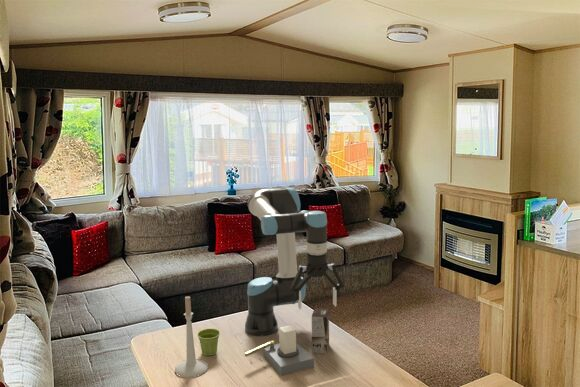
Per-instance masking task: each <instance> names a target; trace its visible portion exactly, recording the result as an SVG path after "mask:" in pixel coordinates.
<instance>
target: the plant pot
mask: <svg viewBox="0 0 580 387" xmlns="http://www.w3.org/2000/svg"><path fill="white" fill-rule="evenodd" d="M220 334H221V331H220V330H219V329H216V328H205V329H201V330H200V331H198V332H197V335H196V336H197V337H198V340H199V343H200V350H201V354H202V356H204V357H210V356H214V355H217V353H218V343H219V337H220Z"/></svg>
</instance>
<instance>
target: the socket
mask: <svg viewBox="0 0 580 387" xmlns="http://www.w3.org/2000/svg"><path fill="white" fill-rule="evenodd" d="M296 347H297V348H298V354H297V355H296V356H294V357H290V358H285V357H281V356H279V355H278V354H277V349H278V348H279V343H275V345H273V346H269V347H266V348H264V349H262V351H263V352H262V354H263V356H264V358H265V359H266V360H267V361H268V362H269V363H270V364H271V366H272V367H273V368H274V369H275V370H276V372H278V374H279V375H280V376H284V375H288V374H293V373H296V372H299V371H304V370H307V369H312V368H315V357H314V356H312V355H311V354H310V353H309V352H308V351H307V350H306V349H305V348H304V347H302V346H301V345H300V344H299V343H298V342H297V341H296Z"/></svg>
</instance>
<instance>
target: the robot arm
mask: <svg viewBox="0 0 580 387" xmlns="http://www.w3.org/2000/svg"><path fill="white" fill-rule="evenodd" d="M247 207H248V208H247V209H248V212H250V214H252V215H253V216H255V217H257V218H258V219H259V220H260V228H261V232H262V234H263V235H265V236H269V235H271V236H274V235H276V248H277V250H276V251H277V263H278V265H277V266H278V272H277V274H276V275H275V279H274V280H273V278H272V277H270V276H263V277H257V278H254V279H252V280H251V281H249V282H248V283H247V292H246V294H247V310H248V312H247V317H246V321H245V324H244V330H245V332H246V333H247V334H249V335H254V336H266V335H272V334H274V333H276V332H277V331H278V330H279V324H278V321H277V318H276V315H275V312H274V311H275V310H274V307H277V306H285V305H286V306H287V305H295V304H297V307H298V309H299V310H302V302H303V301H304V299H305V297H306V289H307V286H306V285H307V283H308V281H309V280H310V279H311V278H322V277H323V276H324V277H325V279H327V280H328V282H329V283H331V285H332V286H333V287H332V305H333V306H334V307H337V302H338V298H339V296H340V289H341V288H344V287H345V286H344V283H343V280H342V279H341V277H340V275H339V273H338V271H337V269H336V265H335V263H334V262H331V263H329V264H328V254H327V251H328V245H327V244H328V234H327V233H328V219H327V216H328V215H327V213H326V212H325V211H321V210H307V209H306V210H301V200H300V195H299V193H298V191H297V190H296V188H294V187H279V188H278V187H277V188H275V187H274V188H261V189H259V190H257V191H254V192H253V194H251V195H250V197H249V198H248V200H247ZM305 232H306V265H305V266H304V265H302V264H299V265H297V264H298V263H297V248H296V233H305ZM328 270H330V271H331V272H332V273H333V274H334V275H333V276H334V277H335V279H336V281H337V283H336V282H335V280H333V278H332V277H331V276H330V275H329V274H328V273H327V271H328ZM305 271H306V273H305V275H304V276H303V277H302V275H303V273H304V272H305Z"/></svg>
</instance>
